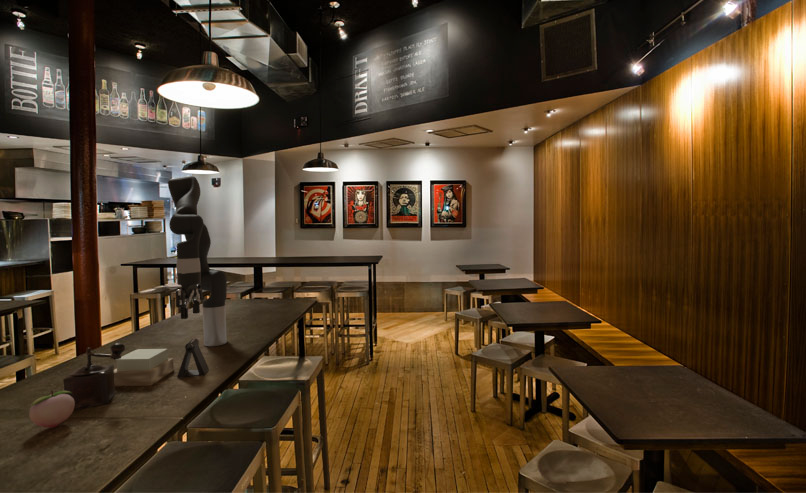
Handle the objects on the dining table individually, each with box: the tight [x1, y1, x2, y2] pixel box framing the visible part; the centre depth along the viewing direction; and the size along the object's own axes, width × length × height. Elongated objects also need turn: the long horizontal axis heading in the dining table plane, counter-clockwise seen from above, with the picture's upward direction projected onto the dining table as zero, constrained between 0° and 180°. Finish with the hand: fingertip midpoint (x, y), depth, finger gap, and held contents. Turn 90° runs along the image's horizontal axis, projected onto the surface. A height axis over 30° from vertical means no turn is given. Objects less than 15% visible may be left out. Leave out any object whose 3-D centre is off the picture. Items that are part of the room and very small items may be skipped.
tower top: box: [115, 348, 169, 371], centre depth 143 cm, size 11×11×4 cm
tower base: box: [114, 357, 175, 387], centre depth 143 cm, size 14×14×5 cm
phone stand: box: [176, 338, 209, 379], centre depth 146 cm, size 9×6×12 cm, turn 103°
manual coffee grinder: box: [63, 342, 126, 410], centre depth 125 cm, size 16×11×18 cm
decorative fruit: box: [28, 390, 75, 428], centre depth 108 cm, size 9×8×10 cm
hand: (190, 315), depth 146 cm, fingers open, 8 cm apart
